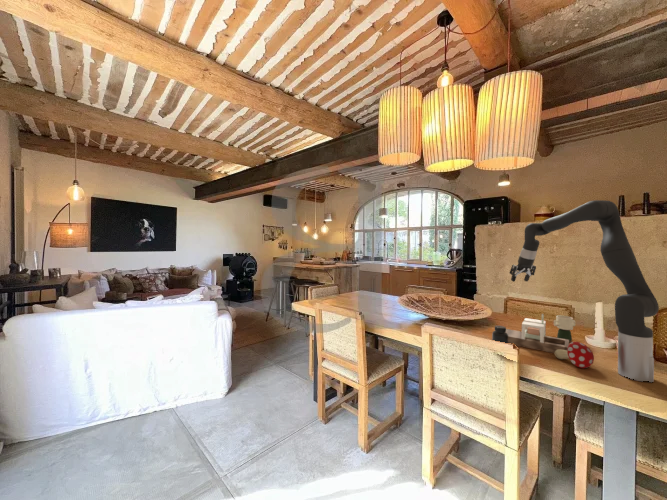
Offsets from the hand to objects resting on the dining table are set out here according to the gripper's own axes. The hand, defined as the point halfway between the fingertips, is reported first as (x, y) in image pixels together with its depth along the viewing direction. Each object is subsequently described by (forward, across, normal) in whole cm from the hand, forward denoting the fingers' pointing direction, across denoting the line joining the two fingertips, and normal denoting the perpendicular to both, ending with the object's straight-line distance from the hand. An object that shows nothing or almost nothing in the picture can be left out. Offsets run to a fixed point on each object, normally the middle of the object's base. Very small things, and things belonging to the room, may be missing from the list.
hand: (519, 281), depth 162 cm
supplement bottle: (+22, -31, -34) cm, 51 cm away
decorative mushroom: (+15, -10, -50) cm, 54 cm away
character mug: (+24, +14, -26) cm, 38 cm away
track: (+22, -8, -29) cm, 38 cm away
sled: (+18, -8, -28) cm, 34 cm away
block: (+19, -8, -28) cm, 35 cm away
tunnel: (+19, -8, -28) cm, 35 cm away
